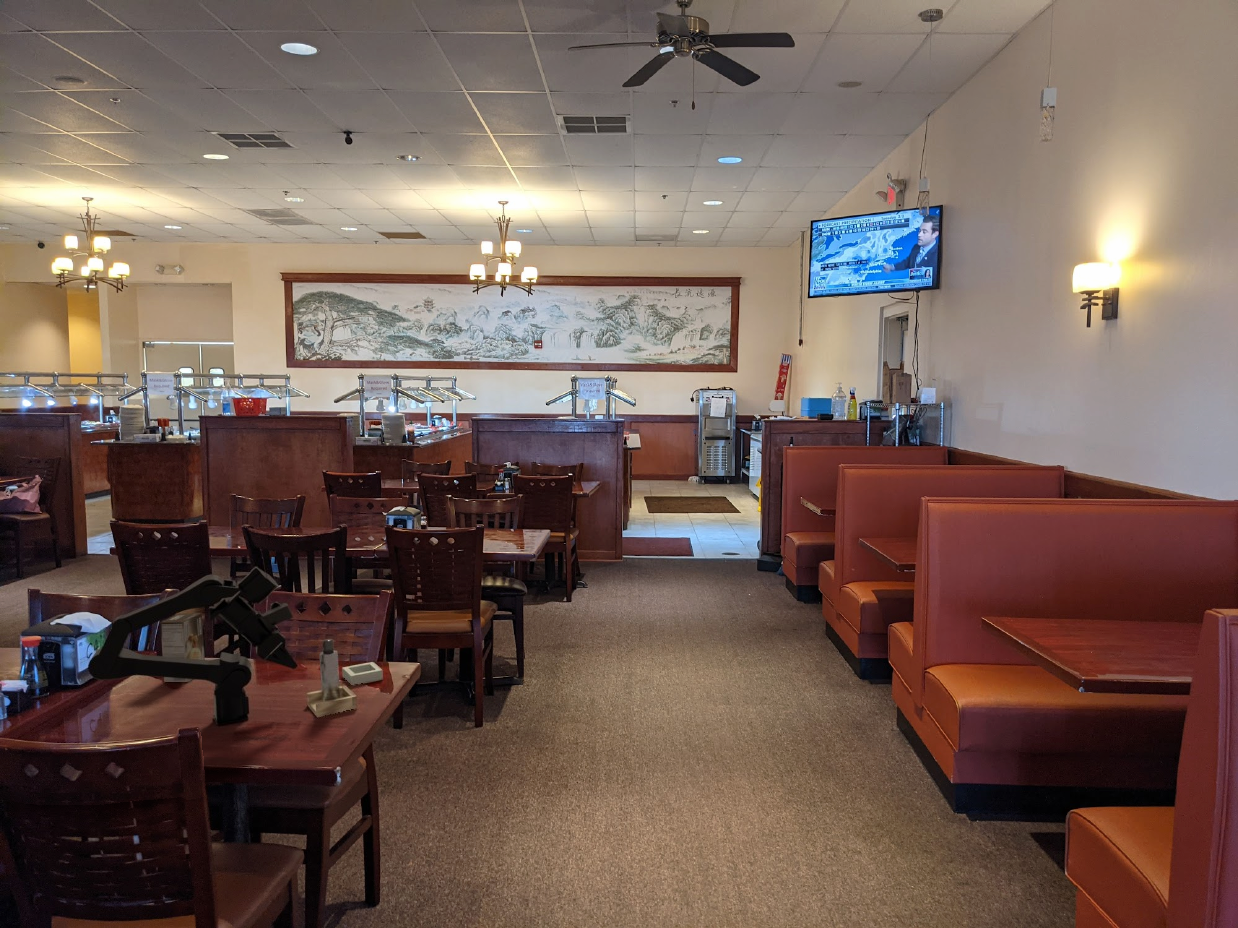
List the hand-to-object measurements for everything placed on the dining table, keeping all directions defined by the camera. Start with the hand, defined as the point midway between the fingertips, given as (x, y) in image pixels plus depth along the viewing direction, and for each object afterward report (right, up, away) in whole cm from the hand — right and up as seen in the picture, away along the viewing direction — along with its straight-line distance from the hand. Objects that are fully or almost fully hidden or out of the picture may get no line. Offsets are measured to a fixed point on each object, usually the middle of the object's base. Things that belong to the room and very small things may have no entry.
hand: (294, 663), depth 197 cm
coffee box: (-38, -10, +25) cm, 46 cm away
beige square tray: (+8, -11, +3) cm, 14 cm away
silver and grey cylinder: (+8, -10, +3) cm, 13 cm away
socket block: (+9, -9, +23) cm, 26 cm away
